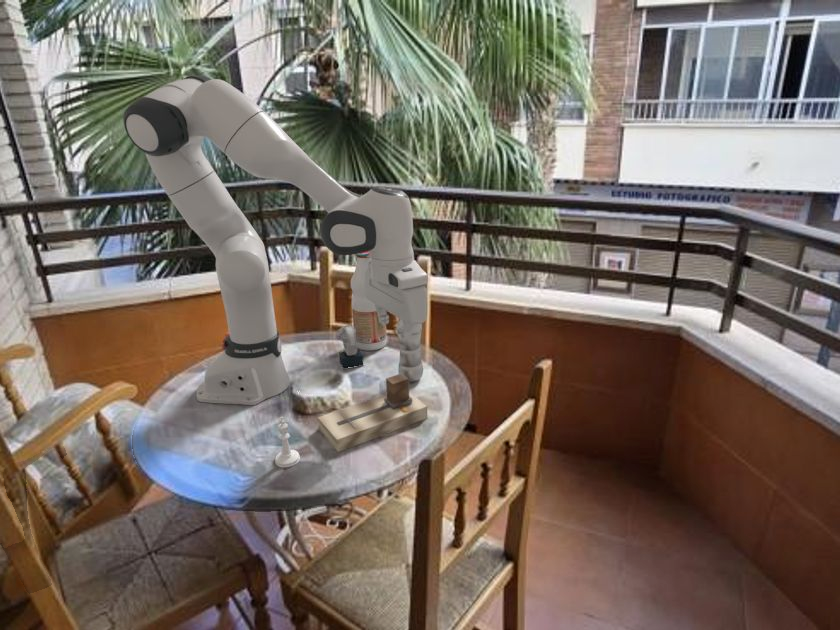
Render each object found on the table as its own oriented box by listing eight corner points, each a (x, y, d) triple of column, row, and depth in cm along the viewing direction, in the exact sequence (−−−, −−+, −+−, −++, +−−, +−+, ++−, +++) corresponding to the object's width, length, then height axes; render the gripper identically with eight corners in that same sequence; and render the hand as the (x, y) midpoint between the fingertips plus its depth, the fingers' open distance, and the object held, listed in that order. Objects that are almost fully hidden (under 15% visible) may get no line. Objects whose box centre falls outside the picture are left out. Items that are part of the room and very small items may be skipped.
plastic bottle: (424, 373, 140) (423, 301, 133) (422, 385, 134) (420, 311, 127) (400, 372, 141) (397, 301, 134) (396, 385, 135) (393, 311, 127)
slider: (393, 409, 118) (392, 385, 116) (384, 401, 122) (382, 378, 119) (412, 402, 121) (411, 379, 119) (403, 395, 124) (402, 372, 122)
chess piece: (292, 449, 111) (286, 407, 107) (304, 460, 108) (299, 417, 104) (270, 459, 108) (264, 417, 104) (282, 470, 105) (275, 427, 101)
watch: (357, 356, 151) (354, 319, 147) (365, 368, 144) (362, 330, 140) (337, 359, 149) (334, 323, 145) (344, 372, 142) (341, 334, 138)
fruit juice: (357, 353, 152) (350, 258, 142) (352, 340, 161) (345, 249, 150) (390, 348, 154) (385, 254, 144) (383, 336, 163) (378, 246, 152)
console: (338, 452, 110) (336, 439, 109) (318, 429, 118) (317, 416, 116) (427, 417, 121) (427, 405, 120) (404, 398, 129) (403, 387, 127)
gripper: (355, 259, 116) (359, 318, 121) (405, 284, 100) (407, 350, 105) (381, 254, 119) (383, 312, 124) (432, 277, 103) (433, 342, 108)
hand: (394, 330), depth 115 cm, fingers open, 8 cm apart
